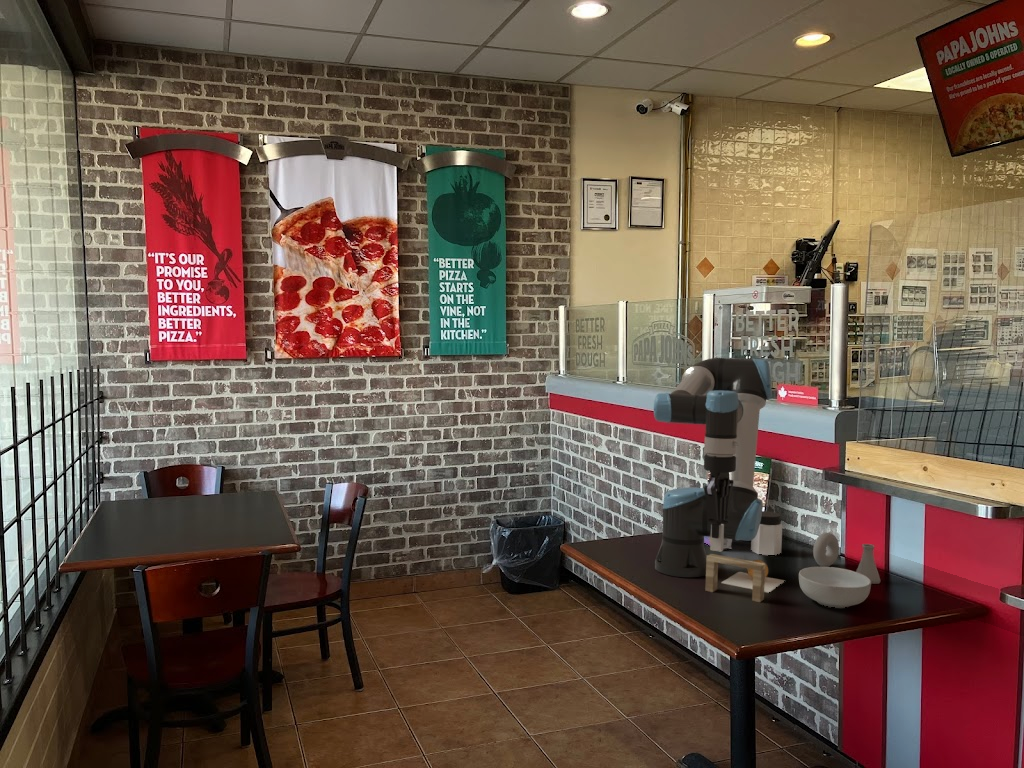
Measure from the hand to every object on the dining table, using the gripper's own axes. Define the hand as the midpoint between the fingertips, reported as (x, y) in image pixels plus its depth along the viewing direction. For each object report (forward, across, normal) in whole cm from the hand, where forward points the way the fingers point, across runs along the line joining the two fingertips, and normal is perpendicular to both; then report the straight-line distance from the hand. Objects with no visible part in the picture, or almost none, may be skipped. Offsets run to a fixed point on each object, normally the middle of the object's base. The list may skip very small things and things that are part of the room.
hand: (716, 550), depth 203 cm
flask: (+15, +49, -24) cm, 57 cm away
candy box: (+15, +58, +24) cm, 64 cm away
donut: (+15, +56, -11) cm, 59 cm away
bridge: (+14, +13, 0) cm, 19 cm away
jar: (+15, +60, +8) cm, 62 cm away
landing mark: (+14, +27, 0) cm, 31 cm away
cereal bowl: (+15, +23, -22) cm, 35 cm away
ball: (+12, +30, 0) cm, 32 cm away
